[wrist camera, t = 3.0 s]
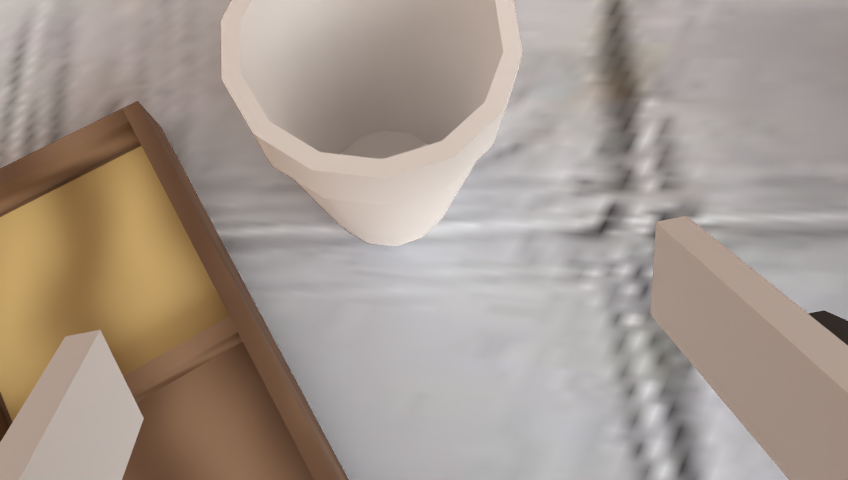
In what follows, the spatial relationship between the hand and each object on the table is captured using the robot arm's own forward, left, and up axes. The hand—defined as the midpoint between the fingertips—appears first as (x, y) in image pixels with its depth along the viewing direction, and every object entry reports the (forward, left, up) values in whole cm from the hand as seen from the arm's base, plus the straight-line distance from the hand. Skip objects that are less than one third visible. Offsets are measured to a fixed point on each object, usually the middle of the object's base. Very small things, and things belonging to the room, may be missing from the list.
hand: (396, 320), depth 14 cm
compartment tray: (+11, -5, -15) cm, 19 cm away
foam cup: (-4, -8, -15) cm, 18 cm away
